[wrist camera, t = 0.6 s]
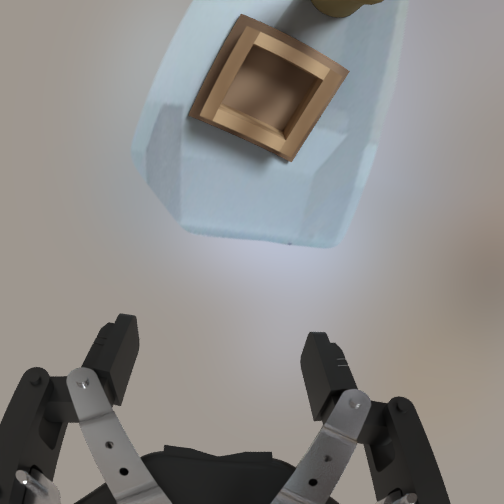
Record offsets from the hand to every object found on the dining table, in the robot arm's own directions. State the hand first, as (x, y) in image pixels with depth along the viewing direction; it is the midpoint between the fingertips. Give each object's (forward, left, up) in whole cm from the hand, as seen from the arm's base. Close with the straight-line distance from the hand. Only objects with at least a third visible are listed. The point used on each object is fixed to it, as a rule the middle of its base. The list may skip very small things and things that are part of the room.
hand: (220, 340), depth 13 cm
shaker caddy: (-5, +6, -27) cm, 29 cm away
